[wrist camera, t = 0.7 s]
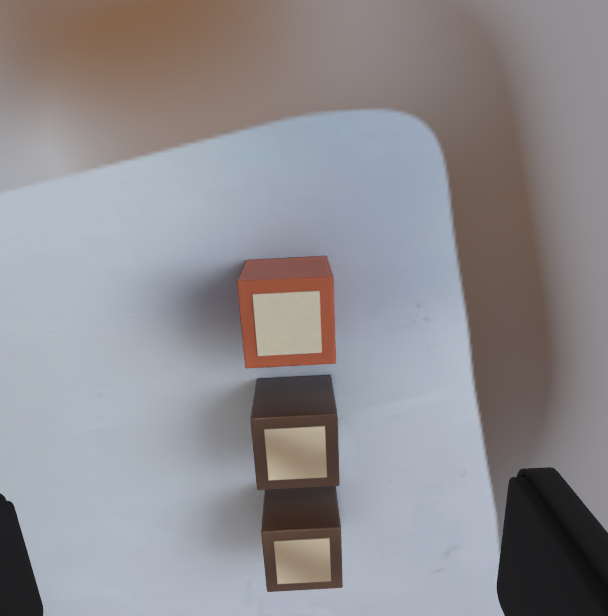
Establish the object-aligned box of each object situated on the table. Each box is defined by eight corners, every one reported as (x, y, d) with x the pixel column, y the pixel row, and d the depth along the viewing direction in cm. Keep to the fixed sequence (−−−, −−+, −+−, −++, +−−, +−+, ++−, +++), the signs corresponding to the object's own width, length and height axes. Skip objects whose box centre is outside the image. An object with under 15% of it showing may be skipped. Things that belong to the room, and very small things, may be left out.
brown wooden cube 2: (256, 378, 26) (250, 419, 22) (330, 374, 26) (337, 414, 22) (262, 442, 27) (256, 491, 23) (333, 438, 27) (339, 487, 23)
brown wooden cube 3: (265, 479, 28) (260, 532, 24) (334, 475, 28) (341, 528, 24) (270, 534, 29) (266, 593, 25) (336, 530, 29) (342, 589, 25)
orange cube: (246, 259, 23) (236, 281, 20) (326, 255, 24) (333, 276, 20) (252, 335, 25) (245, 369, 21) (329, 331, 25) (336, 364, 21)
